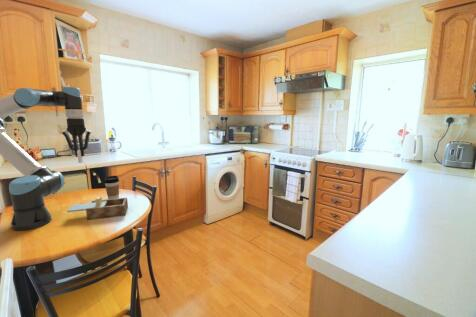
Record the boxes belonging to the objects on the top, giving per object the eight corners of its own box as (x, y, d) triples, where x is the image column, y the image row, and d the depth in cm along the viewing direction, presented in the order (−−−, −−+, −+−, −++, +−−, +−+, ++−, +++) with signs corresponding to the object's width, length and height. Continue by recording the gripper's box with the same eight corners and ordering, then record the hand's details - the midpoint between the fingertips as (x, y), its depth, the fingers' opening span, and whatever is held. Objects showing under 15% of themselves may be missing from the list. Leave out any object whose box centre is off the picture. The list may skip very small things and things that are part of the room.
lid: (67, 212, 120) (66, 203, 119) (73, 205, 128) (72, 197, 127) (103, 208, 125) (102, 199, 124) (106, 202, 133) (106, 194, 132)
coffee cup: (123, 197, 153) (121, 175, 150) (115, 202, 145) (113, 179, 142) (111, 197, 154) (109, 175, 151) (103, 202, 146) (100, 179, 143)
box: (87, 220, 122) (85, 209, 121) (93, 210, 133) (92, 200, 132) (125, 215, 127) (124, 205, 126) (128, 207, 139) (127, 197, 137)
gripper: (57, 118, 116) (64, 164, 121) (87, 118, 120) (92, 163, 125) (63, 117, 123) (69, 161, 128) (91, 117, 127) (96, 160, 132)
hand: (80, 162), depth 127 cm, fingers closed
